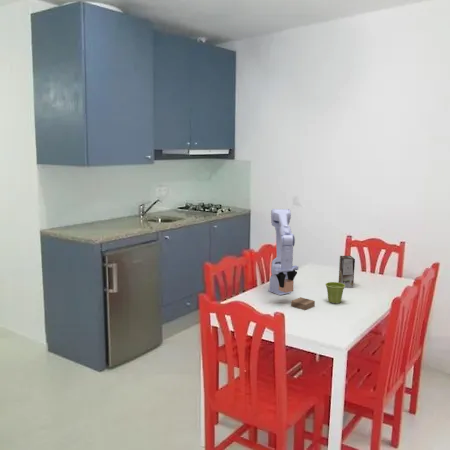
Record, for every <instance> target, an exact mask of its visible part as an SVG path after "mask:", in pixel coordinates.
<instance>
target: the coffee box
mask: <svg viewBox="0 0 450 450" xmlns="http://www.w3.org/2000/svg"><path fill="white" fill-rule="evenodd" d="M355 264H356V259H355V258H354V257H353V256H351V255H339V265H338V266H339V267H338V270H339V271H338V283H342V284H344V285H345V287H344V289H346V288H347V289H352V288H354V281H355V280H354V279H355Z"/></svg>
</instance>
